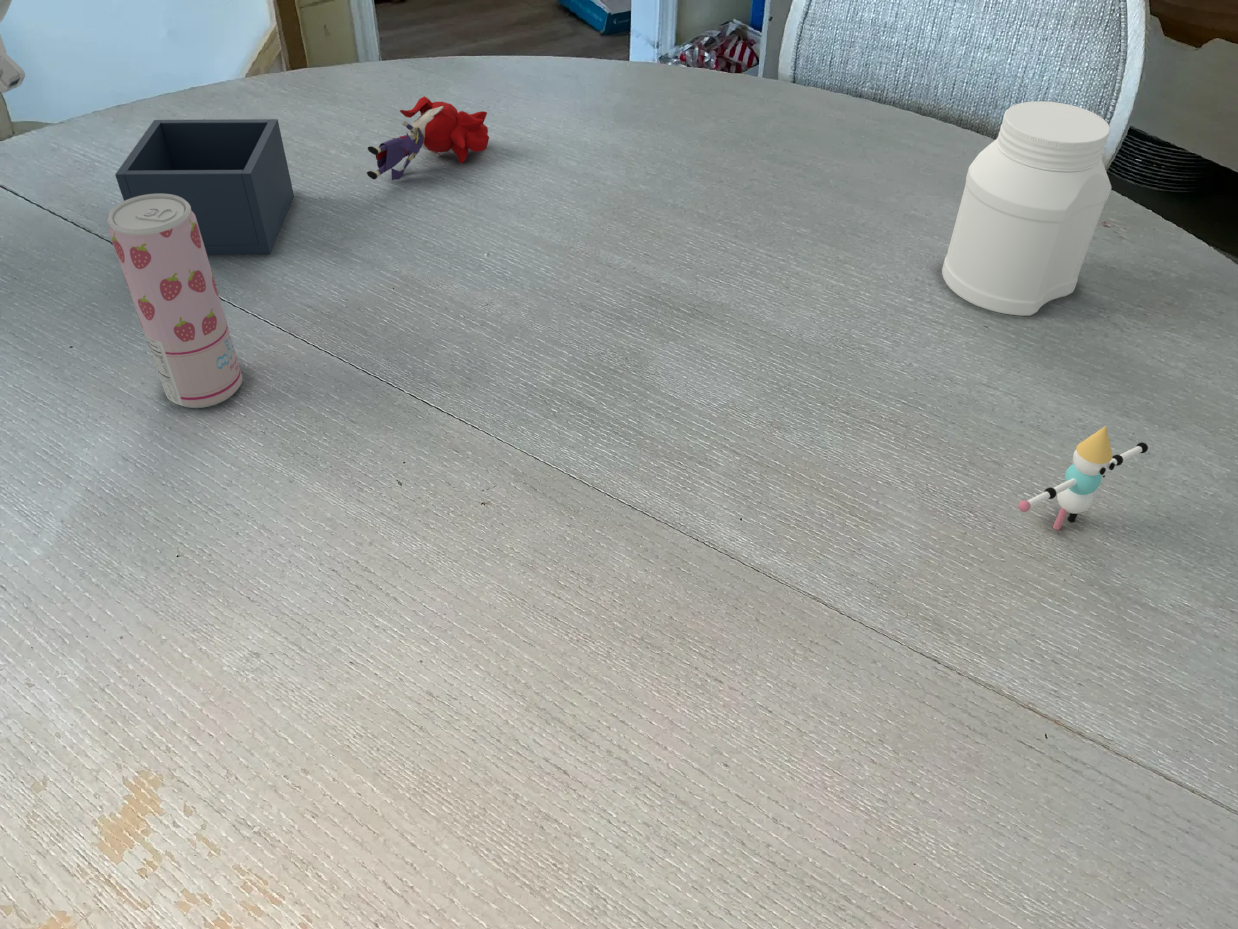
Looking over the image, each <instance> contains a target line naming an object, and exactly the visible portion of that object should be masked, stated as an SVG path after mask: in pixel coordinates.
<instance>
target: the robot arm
mask: <svg viewBox="0 0 1238 929" xmlns="http://www.w3.org/2000/svg"><path fill="white" fill-rule="evenodd" d="M12 1H13V0H0V23H2V21H4V19H5V16H6V15H7V13H8V11H9V9H10V6H11V3H12ZM25 78H26V73H25V70H24V69H23V68H22V67H21V66H20V65H19V64H18V63H17V62H16V61H15V60H14V59H13V58H12V57H11V56H10V55H8V53H7V50H6V47H5V44H4V41H3V38H2V36H1V34H0V93H2V94H5V93H7V92H9V91H12V90H13V89H17V88H18V87H20V86H21V85H22V84H23V82H24V80H25Z"/></svg>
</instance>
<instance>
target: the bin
mask: <svg viewBox="0 0 1238 929" xmlns="http://www.w3.org/2000/svg"><path fill="white" fill-rule="evenodd" d="M114 175H115V176H114V177H115V179H116V181H117V185H118V188H119V191H120V194H121V197H122V200H123V201H125V200H128V199H130V198H133V197H137V196H141V195H147V194H172V195H176V196H179V197H181V198H183V199H184V200H186V201H187V202H188V203H189V205H190V206H191V211H192V212H193V213H194V214H195V216H196V219H197V223H198V226H199V230H200V233H201V236H202V240H203V243H204V247H205V250H206V254H207V256H219V255H220V256H229V255H233V256H237V255H238V256H239V255H241V256H242V255H246V256H247V255H249V256H250V255H271V253H272V251H273V248H274V246H275V243H276V241H277V238H278V236H279V233H280V231H281V229H282V226H283V224H284V221H285V218H286V216H287V215H288V211H289V209H290V207H291V204H292V202H293V200H294V197H295V195H294V190H293V184H292V180H291V175H290V171H289V165H288V161H287V156H286V152H285V147H284V142H283V137H282V133H281V128H280V123H279V119H278V118H270V119H269V118H268V119H267V118H265V119H264V118H259V119H258V118H255V119H254V118H253V119H251V118H249V119H248V118H246V119H244V118H243V119H240V118H239V119H235V118H234V119H233V118H231V119H226V118H225V119H154V120H153V121H152V122H151V124H150V126H149V127H148V128H147V129H146V131H145V132H144V133H143V135H142V136H141V138H140V139H139V140H138V142H137V143H136V144H135V146H134V148H133V149H132V150H131V152H130V153H129V154H128V155H127V157H126V158H125V159H124V161H123V163H122V164H121V165H120V167H119V169H118V170H117V171H116V172H115V174H114Z"/></svg>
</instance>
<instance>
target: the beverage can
mask: <svg viewBox="0 0 1238 929" xmlns="http://www.w3.org/2000/svg"><path fill="white" fill-rule="evenodd" d="M106 219H107V220H106V221H107V225H108V234H109V238H110V240H111V243H112V247H113V248H114V251H115V254H116V257H117V260H118V263H119V266H120V268H121V272H122V274H123V277H124V280H125V283H126V286H127V289H128V291H129V294H130V297H131V300H132V304H133V306H134V310H135V311H136V314H137V317H138V320H139V323H140V325H141V329H142V331H143V332H142V333H143V334H144V337H145V340H146V344H147V345H148V348H149V351H150V354H151V358H152V360H153V363H154V365H155V366H154V367H155V368H156V371H157V374H158V377H159V380H160V383H161V385H162V386H161V387H162V388H163V392H164V394H165V396H166V398H167V399H168V400H169V401H170V402H172V403H174V404H175V405H178V406H181V407H185V408H190V409H201V408H209V407H212V406H216V405H218V404H221V403H223V402H225V401H227V400H228V399H229V398H231V397H232V396H234V394H235V393H236V392H237V391H238V390H239V389H240V387H241V385H242V383H243V374H242V371H241V367H240V363H239V360H238V357H237V353H236V349H235V347H234V343H233V340H232V336H231V332H230V329H229V326H228V323H227V319H226V316H225V312H224V309H223V305H222V302H221V299H220V295H219V292H218V288H217V284H216V281H215V277H214V275H213V270H212V267H211V264H210V261H209V257H208V255H207V254H206V250H205V247H204V243H203V240H202V236H201V233H200V230H199V226H198V223H197V219H196V216H195V214H194V213H193V212H192V211H191V206H190V205H189V203H188V202H187V201H186V200H184V199H183V198H181V197H179V196H176V195H172V194H147V195H141V196H137V197H133V198H130V199H128V200H125V201H124V200H123V201H121V202H119V203H117V204H116V205H115V206H113V207H112V209H110V211H109V212H108V215H107V217H106Z"/></svg>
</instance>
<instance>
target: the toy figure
mask: <svg viewBox="0 0 1238 929" xmlns="http://www.w3.org/2000/svg"><path fill="white" fill-rule="evenodd" d="M1110 441H1111V440H1110V437H1109V432H1108V428H1107V425H1105V426H1103V427H1102V428H1100V429H1098V430H1097V431H1095V432H1094V433H1093V434H1091V435H1089V436H1088V437H1086V438H1085V439H1084V440H1082V441H1080V442H1079V443H1078V444H1077V445H1076V449H1075V450H1074V452H1073V455H1072V462H1073V463H1072V464H1070V466H1069V467H1068V468H1067V469H1066V470H1065V474H1064V481H1063V482H1062V483H1060V484H1058V485H1056V486H1054V487H1047V488H1045V489H1044V491H1043V492H1041V493H1040V494H1037V495H1036V496H1033V497H1032V498H1029V499H1028V500H1026V499H1023V500H1021V501H1019V503H1018V504H1017V508H1018V510H1019V511H1020V512H1023V513H1027V512H1029V511H1030V509H1031V508H1032V507H1034V506H1036V505H1038V504H1040V503H1042V502H1044V501H1046V500H1052V499H1055V498H1056V500H1057V503H1058V506H1059V507H1060V509H1059V511H1058V515H1057V516H1056V519H1055V521H1054V523H1053V526H1052V527H1053V529H1054V530H1057V531H1059V530H1061V528H1062V526H1063V523H1064V522H1065V519H1066V518H1067V521H1068V522H1069V523H1075V521H1076V519H1077V517H1078V515H1079V514H1081V513H1083V512H1086V511H1087V510H1088V509H1089V508H1090V507H1091V506H1092V505H1093V500H1094V499H1093V498H1094V492H1096V491H1097V490H1098V489H1099V487H1100V486H1101V483H1102V478H1106V475H1105V473H1106V471H1107V470H1110V471H1113V470H1114V469H1115V467H1116V466H1117V467H1119V466H1121V465H1122V464H1123V462H1124V461H1126V460H1128V459H1130V458H1132V457H1135V456H1137V455H1139V454H1145V453H1147V451H1148V450H1149V446H1148V444H1147V442H1142V441H1141V442H1138V443H1137V444H1136V445H1135V447H1132V448H1131V449H1129V450H1127V451H1125V452H1122V453H1120V454H1114V455H1113V450H1112V446H1111V442H1110ZM1068 513H1069V515H1068ZM1067 515H1068V517H1067Z"/></svg>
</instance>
